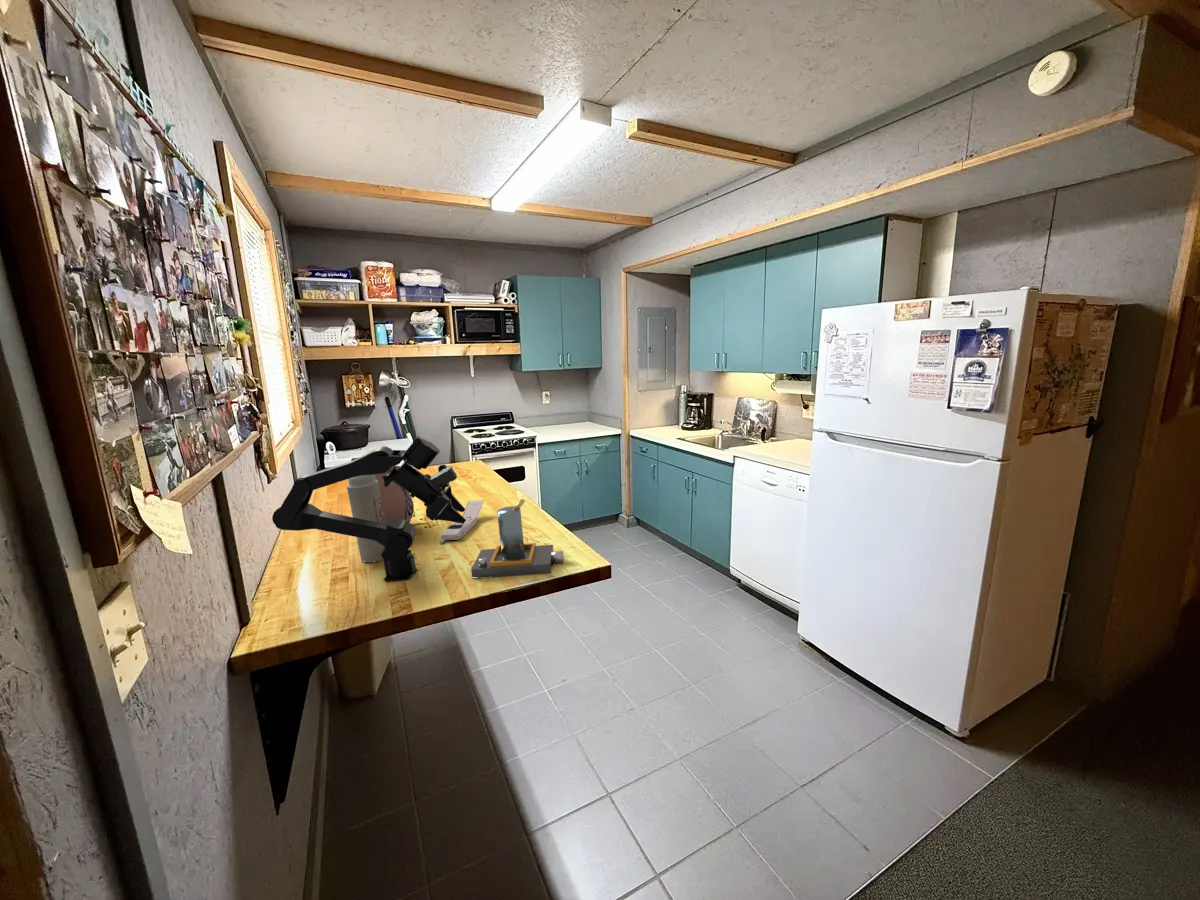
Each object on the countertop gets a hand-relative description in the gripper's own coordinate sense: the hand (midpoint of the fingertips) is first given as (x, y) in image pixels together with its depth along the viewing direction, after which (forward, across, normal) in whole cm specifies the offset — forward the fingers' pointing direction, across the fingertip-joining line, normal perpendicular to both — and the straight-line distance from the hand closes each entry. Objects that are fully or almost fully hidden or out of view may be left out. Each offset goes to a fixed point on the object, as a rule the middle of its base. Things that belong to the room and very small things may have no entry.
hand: (464, 516), depth 127 cm
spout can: (+16, -6, 0) cm, 17 cm away
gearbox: (+19, -7, +1) cm, 20 cm away
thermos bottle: (-9, +16, +28) cm, 34 cm away
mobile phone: (+9, +28, +11) cm, 31 cm away
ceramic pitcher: (-7, +38, +27) cm, 47 cm away
